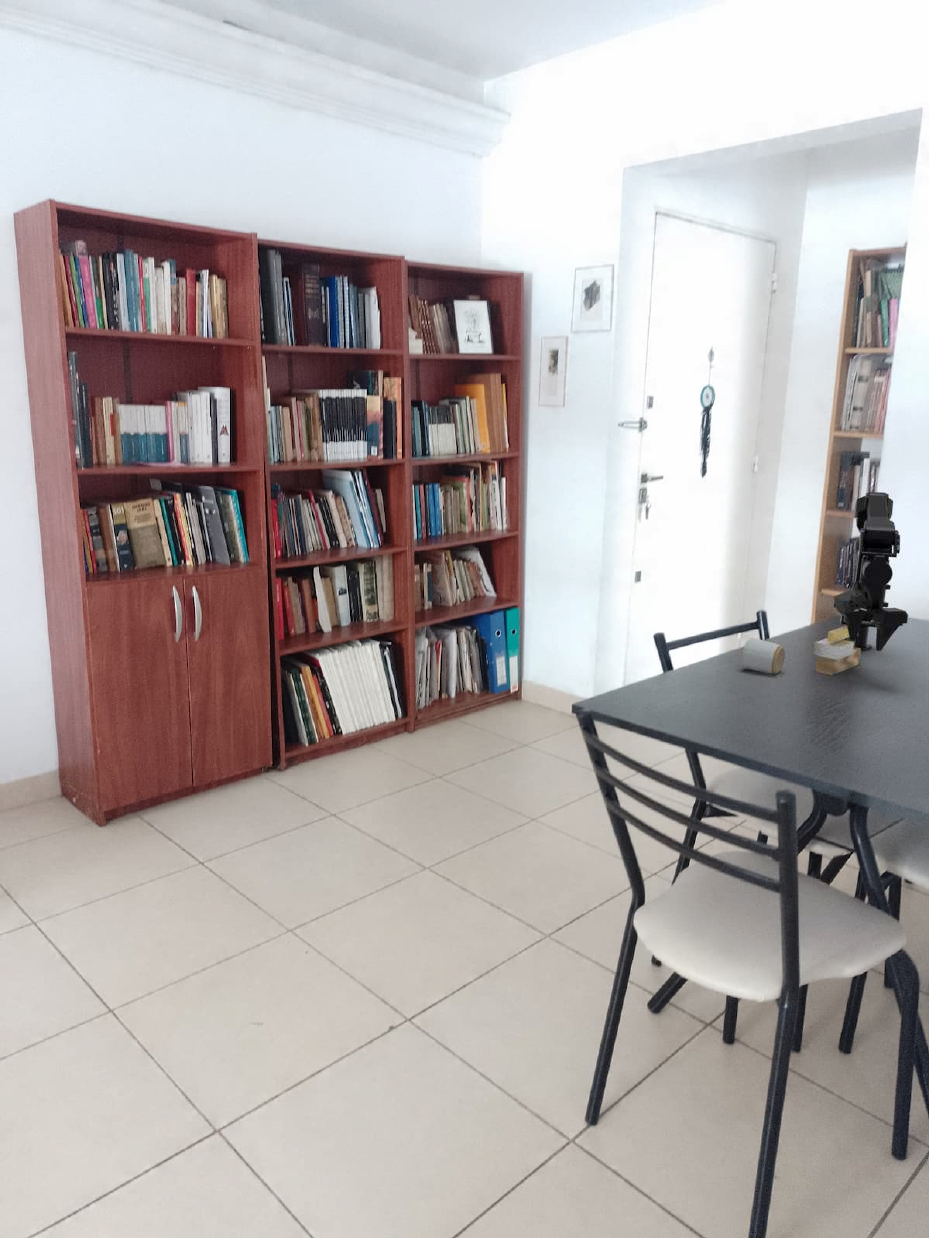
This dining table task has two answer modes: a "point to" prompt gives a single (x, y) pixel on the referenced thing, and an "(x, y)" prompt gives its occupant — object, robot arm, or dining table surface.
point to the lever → (838, 634)
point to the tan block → (838, 662)
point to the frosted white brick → (833, 649)
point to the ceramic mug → (763, 656)
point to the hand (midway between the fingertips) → (865, 645)
